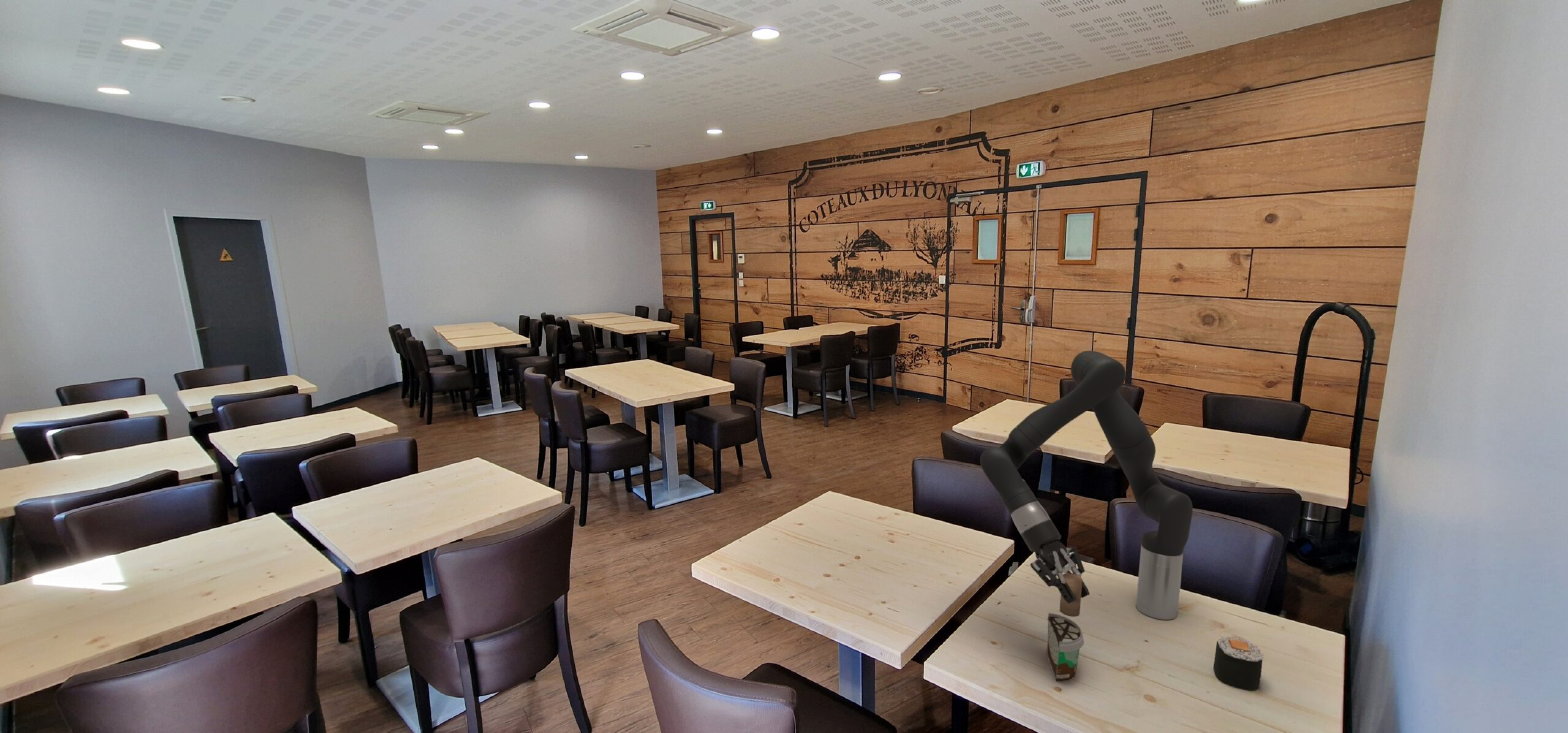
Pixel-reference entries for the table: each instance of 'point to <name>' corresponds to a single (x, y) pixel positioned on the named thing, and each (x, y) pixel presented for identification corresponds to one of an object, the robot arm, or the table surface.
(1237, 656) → the sushi
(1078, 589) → the walnut cylinder
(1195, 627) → the table surface
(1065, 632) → the food container
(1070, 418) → the robot arm
